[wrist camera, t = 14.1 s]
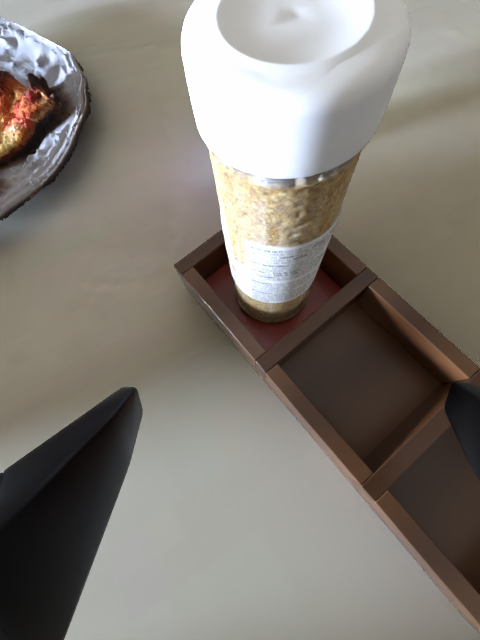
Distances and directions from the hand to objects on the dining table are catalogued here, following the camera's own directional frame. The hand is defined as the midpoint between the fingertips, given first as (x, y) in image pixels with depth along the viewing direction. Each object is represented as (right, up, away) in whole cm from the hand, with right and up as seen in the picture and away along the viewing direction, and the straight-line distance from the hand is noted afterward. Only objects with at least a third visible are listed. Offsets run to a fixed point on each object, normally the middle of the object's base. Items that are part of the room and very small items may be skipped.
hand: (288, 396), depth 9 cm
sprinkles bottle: (+1, +4, +10) cm, 11 cm away
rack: (+5, -1, +9) cm, 10 cm away
